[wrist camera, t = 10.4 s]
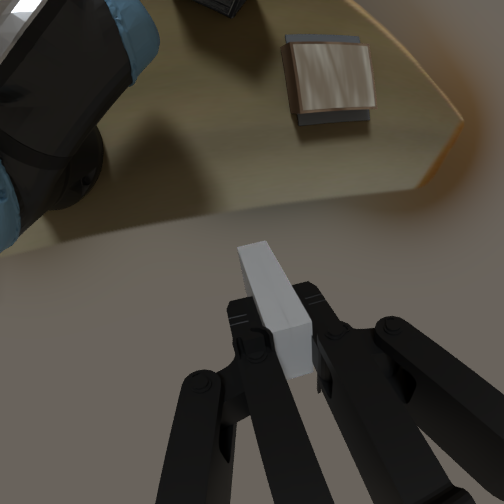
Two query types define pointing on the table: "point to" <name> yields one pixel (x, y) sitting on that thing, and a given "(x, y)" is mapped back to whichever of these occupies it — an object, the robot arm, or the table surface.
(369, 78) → the brown rectangular box
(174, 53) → the table surface
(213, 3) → the small box
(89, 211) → the table surface
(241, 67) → the table surface
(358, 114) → the mat
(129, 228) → the table surface
